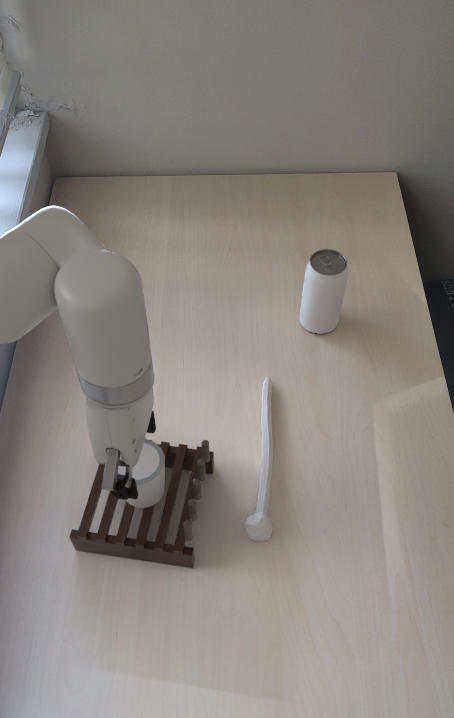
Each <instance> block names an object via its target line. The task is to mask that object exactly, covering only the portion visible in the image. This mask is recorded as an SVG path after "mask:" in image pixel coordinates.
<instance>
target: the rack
mask: <svg viewBox="0 0 454 718" xmlns="http://www.w3.org/2000/svg"><path fill="white" fill-rule="evenodd" d="M150 440H151V441H153V440H152V439H150ZM156 444H157V445H158V446H159V447H160V448H162V451H163V453H164V456H165V469H166V468H167V469H172V470H171V475H170V480H169V483H168V487H167V491H166V495H165V500H164V504H163V508H162V512H161V516H160V520H159V523H158V528H157V531H156V536H155V541H153V540H148V535H149V531H150V527H151V523H152V519H153V515H154V511H155V507H156V504H155V505H153V506H150V507H147V508H142V514H141V517H140V521H139V525H138V529H137V532H136V537H135V538H134V537H128V536H129V531H130V529H131V525H132V520H133V517H134V513H135V509H136V507H135V506H132V505H130V504H129V503H128V502H127V501H126V500H125V503H124V508H123V511H122V515H121V518H120V522H119V525H118V529H117V532H116V535H113V534H110V530H111V526H112V523H113V520H114V517H115V516H114V515H115V512H116V508H117V505H118V502H119V499H118V498H116V497H115V496H113V495H111V492H110V491H109V493H108V496H107V499H106V502H105V506H104V509H103V513H102V516H101V519H100V523H99V525H98V526H99V527H98V529H97V532H94V531H90V530H91V527H92V523H93V522H94V521H93V520H94V517H95V514H96V511H97V508H98V505H99V501H100V497H101V496H102V495H101V494H102V492H103V489H102V481H103V475H104V468H105V464H99V463H98V466H97V469H96V472H95V476H94V479H93V483H92V484H91V485H92V486H91V489H90V492H89V495H88V498H87V501H86V505H85V507H84V510H83V514H82V517H81V521H80V524H79V527H78V529H74V528H73V529H71V530H70V534H69V535H68V536H69V540H70V542H71V544H72V546H73V548H74V550H75V551H76V552H77V551H78V552H85V553H90V554H97V555H104V556H109V557H110V556H111V557H117V558H123V559H130V560H136V561H142V562H149V563H157V564H161V565H169V566H175V567H181V568H188V569H194V568H195V567H194V566H195V563H196V559H195V549H194V547H193V546H186V542H192V541H193V540H194V535H193V533H194V532H193V526H192V524H193V523H192V521H193V522H195V521H196V520H197V519H198V507H197V502H199V501H201V500H202V498H203V497H202V496H203V495H202V482H205V481H206V479H207V475H206V474H210V475H214V471H215V452H214V451H212V450H210V441H209V440H207V439H203V440H201V443H200V444H201V446H200V445H199V446H196V448H190V447H188V444H183V443H178V446H174V445H171V443H170V442H169V441H163V440H162V441H160V443H156ZM183 471H189V472H190V475H189V479H188V483H187V488H186V492H185V495H184V496H185V497H184V501H183V506H182V510H181V513H180V514H181V515H180V519H179V523H178V527H177V531H176V536H175V541H174V543H173V544H172V543H168V542H167V538H168V535H169V534H168V533H169V530H170V525H171V521H172V517H173V513H174V509H175V505H176V499H177V496H178V491H179V487H180V483H181V478H182V474H183ZM166 542H167V543H166Z"/></svg>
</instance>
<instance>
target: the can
mask: <svg viewBox="0 0 454 718" xmlns="http://www.w3.org/2000/svg"><path fill="white" fill-rule="evenodd" d="M348 276H349V267H348V260H347V257H346V256H345V255H344V254H343V253H342V252H340V251H338V250H336V249H331V248H324V249H323V248H322V249H318V250H316V251H315V252H313V253H312V254H311V255H310V258H309V261H308V262H307V264H306V266H305V270H304V277H303V285H302V293H301V301H300V307H299V316H298V319H299V323H300V325H301V327H302V328H303V329H304V330H306V331H307V330H308V331H307V332H308V333H311V332H312V333H311V334H315V333H317V334H316V335H324V333H325V334H327V333H330V332H332V331H333V330H335V329H336V328H337V326H338V324H339V321H340V320H339V319H340V316H341V312H342V311H341V310H342V307H343V301H344V296H345V292H346V286H347V282H348Z"/></svg>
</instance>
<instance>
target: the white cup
mask: <svg viewBox="0 0 454 718" xmlns="http://www.w3.org/2000/svg"><path fill="white" fill-rule="evenodd" d="M151 440H152V439H147V438H145V440H144V443H143V447H142V450H141V454H140V457H139V460H138V463H137V465H136V466H134V467H133V470H132V478H134V479H135V481H136V486H137V491H138V498H137V499H130V498H128V499H127V500H125V502H126V501H127V502H128V503H129V504H130V505H132V506H135V508H137V509H139V508H140V509H144V508H147V507H150V506H153V505H155V506H156V504H157V503H159V502H160V501H161V500H162V498H163V497H164V495H165V488H166V487H165V485H166V483H165V482H166V478H165V477H166V467H165V456H164V453H163V451H162V448H160V447H159V446H158V445H157V444H158V443H157V442H155V441H153V440H152V441H151ZM120 458H121V455H120ZM125 471H126V467H124V466H119V468H118V474H121V475H125Z"/></svg>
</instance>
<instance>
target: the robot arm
mask: <svg viewBox="0 0 454 718" xmlns="http://www.w3.org/2000/svg"><path fill="white" fill-rule="evenodd" d="M57 310H58V312H59V316H60V319H61V323H62V326H63V329H64V333H65V337H66V340H67V344H68V347H69V351H70V355H71V357H72V360H73V364H74V368H75V371H76V375H77V378H78V381H79V385H80V388H81V391H82V393H83V396H85V397H86V402H85V411H86V424H87V431H88V436H89V441H90V445H91V451H92V454H93V455H92V456H93V458H94V460H95V462H96V463H97V464H98V465H99V464H105V468H104V475H103V481H102V490H103V491H104V490H105V491H109V492H111V495H113V496H115V497H116V498H118V500H124V501H126V500H127V499H128V498H130V499H137V498H138V491H137V486H136V481H135V479H134V478H132V470H133V467H134V466H136V465H137V463H138V460H139V457H140V454H141V450H142V447H143V443H144V440H145V439H146V435H147V434H154V433H155V432H156V430H157V425H156V424H157V423H156V418H155V411H154V410H153V408H154V407H153V406H154V402H155V401H154V400H155V399H154V388H153V387H154V384H155V372H154V363H153V354H152V348H151V347H152V346H151V340H150V338H151V337H150V332H149V323H148V316H147V307H146V300H145V293H144V284H143V281H142V277H141V274H140V273H139V271H138V269H137V267H136V266H135V265H134V263H132V261H131V260H129V259H128V258H127V257H125V256H124V255H122V254H120V253H119V252H118V253H117V252H115V251H110V250H109V248H108V247H106V246H105V245H104V244H103V243H102V242H101V241H100V240H99V239H98V237H96V235H95V234H94V233H93V232H92V231H91V230H90V229H89V227H88V226H87V225H86V223H85V222H84V221H83V220H82V219H81V218H80V217H79V216H77V215H76V214H74V213H72V212H71V211H70V210H68V209H67V208H65V207H62V206H59V205H48V206H46V207H43V208H41V209H39V210H38V211H36V212H34V213H32V214H31V215H30V216H28V217H27V218H26V219H24V220H23V221H22V222H20V223H19V224H17V225H16V226H14V227H13V228H12V229H10V230H8V231H6V232H5V233H3V234H2V235H1V236H0V345H6V344H11V343H15V342H17V341H19V340H20V339H22V338H23V337H24V336H26V335H27V334H28V333H30V332H31V331H32V330H33V329H34V328H36V327H37V326H39V325H40V324H41V323H42V322H43V321H44V320H46V319H47V318H48V317H49V316H50V315H51V314H53V313H54V312H55V311H57ZM120 455H121V458H120ZM119 466H124V467H126V471H125V475H121V474H118V468H119Z"/></svg>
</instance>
